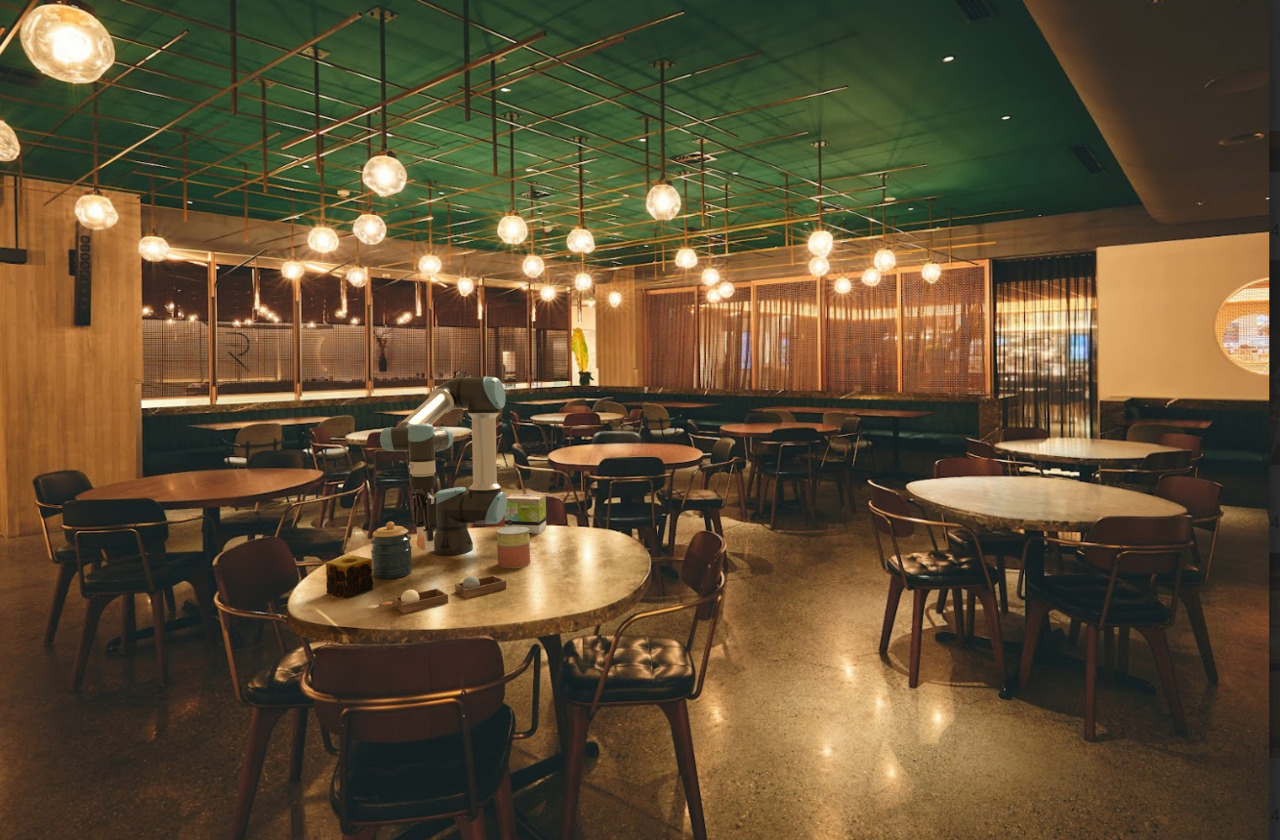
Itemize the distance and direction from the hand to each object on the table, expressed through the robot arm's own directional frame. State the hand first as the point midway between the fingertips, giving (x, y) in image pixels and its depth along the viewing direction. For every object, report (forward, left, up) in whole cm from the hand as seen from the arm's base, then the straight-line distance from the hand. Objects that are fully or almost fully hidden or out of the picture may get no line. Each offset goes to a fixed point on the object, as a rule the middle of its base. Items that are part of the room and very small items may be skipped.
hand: (425, 549), depth 220 cm
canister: (-25, -2, -13) cm, 28 cm away
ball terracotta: (0, 0, 0) cm, 0 cm away
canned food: (-7, +34, -13) cm, 37 cm away
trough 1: (+13, -8, -13) cm, 20 cm away
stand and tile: (+3, -8, -13) cm, 16 cm away
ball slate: (+13, +8, -12) cm, 20 cm away
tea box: (-46, +62, -13) cm, 79 cm away
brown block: (-15, -19, -13) cm, 27 cm away
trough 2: (+13, +11, -13) cm, 22 cm away
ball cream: (+13, -11, -12) cm, 21 cm away
